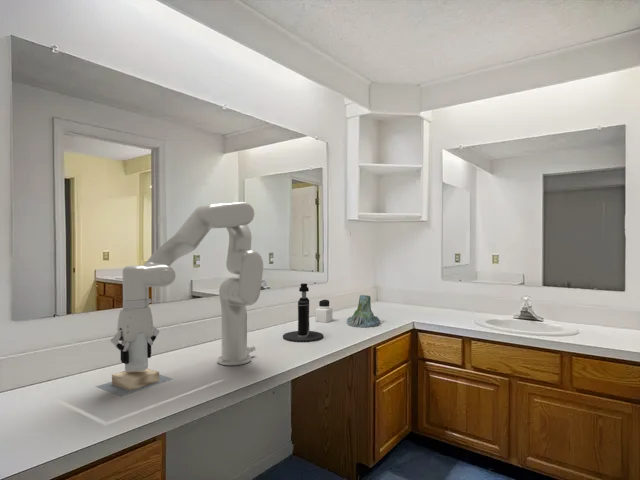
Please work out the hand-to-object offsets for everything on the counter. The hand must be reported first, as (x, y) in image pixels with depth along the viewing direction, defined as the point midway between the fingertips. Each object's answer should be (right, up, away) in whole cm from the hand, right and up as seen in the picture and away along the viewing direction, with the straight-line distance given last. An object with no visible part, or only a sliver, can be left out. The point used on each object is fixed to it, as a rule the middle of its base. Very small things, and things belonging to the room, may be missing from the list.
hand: (136, 359), depth 132 cm
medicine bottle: (+61, -8, +101) cm, 118 cm away
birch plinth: (0, -7, 0) cm, 7 cm away
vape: (+51, -8, +63) cm, 81 cm away
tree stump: (+82, -8, +94) cm, 126 cm away
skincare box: (0, -3, 0) cm, 3 cm away
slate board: (0, -8, 0) cm, 8 cm away
